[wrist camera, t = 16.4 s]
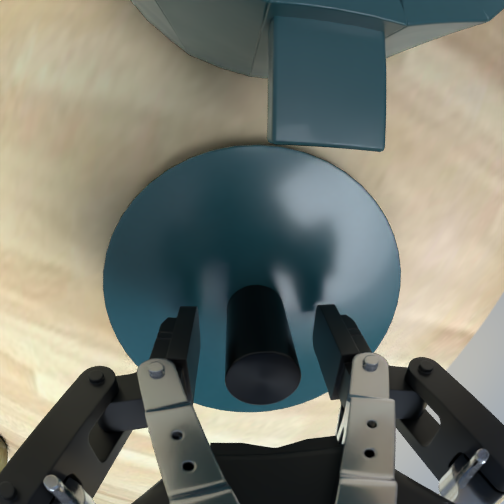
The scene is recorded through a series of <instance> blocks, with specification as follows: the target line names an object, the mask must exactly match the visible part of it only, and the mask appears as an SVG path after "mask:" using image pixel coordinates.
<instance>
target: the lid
mask: <svg viewBox="0 0 504 504" xmlns="http://www.w3.org/2000/svg"><path fill="white" fill-rule="evenodd" d="M400 277H401V268H400V260H399V252H398V248H397V244H396V241H395V237H394V234H393V232H392V229H391V227H390V225H389V223H388V220H387V218H386V216H385V215H384V213H383V212H382V210H381V209H380V207H379V206H378V204H377V202H376V201H375V200H374V199H373V197H372V196H371V195H370V194H369V193H368V192H367V191H366V190H365V189H364V187H363V186H362V185H361V184H359V183H358V182H357V181H356V180H354V179H353V178H352V177H351V176H350V175H348V174H347V173H346V172H344V171H343V170H341V169H339V168H338V167H336V166H334V165H333V164H331V163H329V162H327V161H325V160H323V159H321V158H318V157H316V156H313V155H311V154H308V153H306V152H302V151H298V150H294V149H290V148H285V147H281V146H271V145H259V144H254V145H237V146H230V147H225V148H220V149H215V150H211V151H208V152H205V153H202V154H199V155H197V156H194V157H191V158H189V159H187V160H185V161H183V162H181V163H179V164H178V165H176V166H174V167H172V168H170V169H168V170H167V171H165V172H164V173H163V174H161V175H160V176H159V177H157V178H156V179H155V180H153V181H152V182H151V183H149V184H148V185H147V186H146V187H145V188H144V189H143V190H142V191H141V192H140V193H139V194H138V195H137V196H136V197H135V199H134V200H133V201H132V202H131V204H130V205H129V206H128V208H127V209H126V211H125V212H124V213H123V215H122V216H121V218H120V220H119V222H118V224H117V226H116V228H115V230H114V232H113V234H112V237H111V240H110V243H109V246H108V249H107V252H106V258H105V264H104V270H103V291H104V298H105V305H106V310H107V313H108V316H109V320H110V323H111V325H112V328H113V330H114V332H115V334H116V337H117V339H118V340H119V342H120V344H121V345H122V347H123V348H124V350H125V352H126V353H127V354H128V356H129V357H130V358H131V359H132V360H133V362H134V363H135V364H136V365H137V366H138V367H139V366H140V364H142V363H143V362H144V361H146V360H149V358H150V355H151V352H152V349H153V346H154V343H155V340H156V337H157V334H158V331H159V328H160V326H161V324H162V323H163V322H164V321H165V320H166V319H167V318H168V317H173V318H177V315H178V312H179V308H180V306H197V307H198V315H199V327H200V355H199V363H198V370H197V378H196V386H195V394H194V402H193V403H196V404H199V405H202V406H205V407H210V408H214V409H219V410H225V411H234V412H263V411H272V410H278V409H283V408H288V407H291V406H295V405H298V404H301V403H304V402H307V401H309V400H312V399H314V398H317V397H319V396H321V395H322V394H324V393H326V392H328V390H327V387H326V384H325V381H324V378H323V375H322V372H321V369H320V366H319V363H318V360H317V357H316V354H315V351H314V348H313V329H314V321H315V313H316V307H317V305H327V304H334V305H335V306H336V308H337V309H338V311H339V313H340V315H347V316H349V317H350V318H351V319H353V320H354V321H355V323H356V325H357V326H358V329H359V330H360V332H361V333H362V334H361V335H363V337H364V339H365V340H366V342H367V344H368V346H369V348H370V349H371V351H372V353H374V351H375V350H376V349H377V347H378V346H379V344H380V343H381V341H382V339H383V338H384V336H385V334H386V332H387V330H388V328H389V326H390V324H391V321H392V319H393V316H394V313H395V310H396V306H397V303H398V297H399V291H400Z"/></svg>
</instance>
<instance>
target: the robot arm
mask: <svg viewBox="0 0 504 504" xmlns="http://www.w3.org/2000/svg"><path fill="white" fill-rule="evenodd" d="M361 334H362V333H361V332H360V330H359V329H358V326H357V325H356V323H355V321H354V320H353V319H351V318H350V317H349V316H347V315H340V313H339V311H338V309H337V308H336V306H335V305H334V304H327V305H317V307H316V313H315V321H314V329H313V348H314V351H315V354H316V357H317V360H318V363H319V366H320V369H321V372H322V375H323V378H324V381H325V384H326V387H327V390H328V393H329V396H330V399H331V400H336V399H340V401H341V406H340V409H339V415H338V421H337V427H336V432H335V436H330V437H322V438H313V439H306V440H303V441H299V442H296V443H293V444H289V445H286V446H282V447H278V448H270V447H263V446H257V445H251V444H245V443H211V444H210V445H209V443H208V441H207V438H206V436H205V434H204V432H203V429H202V427H201V424H200V422H199V420H198V417H197V415H196V412H195V410H194V408H193V402H194V394H195V386H196V378H197V370H198V363H199V355H200V327H199V315H198V307H197V306H180V308H179V312H178V315H177V318H173V317H168V318H167V319H166V320H165V321H164V322H163V323H162V324H161V326H160V328H159V331H158V334H157V337H156V340H155V343H154V346H153V349H152V352H151V355H150V358H149V360H146V361H144V362H143V363H142V364H140V366H139V367H138V369H137V372H136V373H133V374H128V375H121V376H115V373H114V372H113V370H111V369H110V368H108V367H104V366H95V367H91V368H89V369H87V370H85V371H84V372H83V373H82V374H81V375H80V376H79V377H78V378H77V380H76V381H75V382H74V383H73V384H72V385H71V387H70V388H69V389H68V390H67V391H66V392H65V394H64V395H63V396H62V397H61V398H60V399H59V401H58V402H57V403H56V404H55V405H54V407H53V408H52V409H51V410H50V411H49V412H48V414H47V415H46V416H45V417H44V418H43V420H42V421H41V422H40V423H39V425H38V426H37V427H36V428H35V429H34V431H33V432H32V433H31V434H30V436H29V437H28V438H27V439H26V441H25V442H24V443H23V444H22V445H21V447H20V448H19V449H18V450H17V452H16V453H15V454H14V456H13V457H12V458H11V459H10V461H9V462H8V463H7V464H6V466H5V467H4V468H3V470H2V471H1V472H0V504H96V503H95V502H94V500H93V497H94V495H95V493H96V492H97V490H98V488H99V487H100V485H101V483H102V481H103V480H104V478H105V476H106V475H107V473H108V471H109V469H110V468H111V466H112V464H113V463H114V461H115V459H116V457H117V456H118V454H119V452H120V451H121V449H122V447H123V445H124V444H125V442H126V440H127V439H128V437H129V435H130V434H131V432H132V430H134V429H141V428H147V427H148V429H149V433H150V437H151V441H152V445H153V448H154V452H155V456H156V459H157V463H158V466H159V469H160V473H161V476H162V479H161V480H160V481H158V482H157V483H156V484H155V485H154V486H153V487H151V488H150V489H149V490H148V491H147V492H145V493H144V494H143V495H142V496H140V497H139V498H138V499H137V500H135V501H134V502H133V503H132V504H500V503H501V502H502V501H503V500H504V425H503V424H502V423H501V422H500V421H499V420H498V419H497V418H496V417H495V416H494V415H493V414H492V413H491V412H490V411H489V410H488V409H486V408H485V407H484V406H483V405H482V404H481V403H480V402H479V401H478V400H477V399H476V398H475V397H474V396H473V395H472V394H471V393H470V392H468V391H467V390H466V389H465V388H464V387H463V386H462V385H461V384H460V383H459V382H458V381H457V380H455V379H454V378H453V377H452V376H451V375H450V374H449V373H448V372H447V371H446V370H445V369H443V368H442V367H441V366H440V365H439V364H438V363H437V362H435V361H434V360H432V359H429V358H425V357H418V358H415V359H413V360H411V361H410V363H409V366H408V368H406V367H395V366H389V365H388V362H387V360H386V359H385V358H384V357H382V356H381V355H379V354H376V353H372V351H371V349H370V348H369V346H368V344H367V342H366V340H365V339H364V337H363V335H361ZM427 404H428V405H429V406H430V407H431V409H433V411H434V412H435V413H436V414H437V415H438V416H439V418H440V422H441V424H440V425H439V424H438V422H437V421H436V420H435V419H434V418H433V417H432V416H431V415H430V414H429V413H428V412H427V410H426V409H425V408H426V406H427ZM396 428H397V429H398V431H399V432H400V433H401V434H402V436H403V437H404V438H405V439H406V441H407V442H408V443H409V444H410V446H411V447H412V448H413V449H414V451H415V452H416V453H417V454H418V456H419V457H420V458H421V459H422V460H423V462H424V463H425V464H426V465H427V467H428V468H429V469H430V470H431V472H432V473H433V474H434V475H435V477H436V478H437V479H438V481H439V491H440V494H437V493H435V492H433V491H432V490H430V489H428V488H426V487H424V486H422V485H421V484H419V483H417V482H416V481H414V480H412V479H410V478H409V477H407V476H406V475H404V474H402V473H400V472H399V471H397V470H396V469H395V441H396V440H395V439H396V436H395V435H396V433H395V431H396Z"/></svg>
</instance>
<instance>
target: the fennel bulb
mask: <svg viewBox="0 0 504 504" xmlns="http://www.w3.org/2000/svg"><path fill="white" fill-rule="evenodd" d="M7 459H8V451H7V448H6V445H5V443H4V442H3V440H2V439H1V438H0V472H1V471H2V470H3V468H4V467H5V466H6V464H7Z"/></svg>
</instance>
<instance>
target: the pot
mask: <svg viewBox="0 0 504 504" xmlns="http://www.w3.org/2000/svg"><path fill="white" fill-rule="evenodd" d="M131 2H132V3H133V4H134V5H135V6H136V7H137V9H138V10H139V11H140V12H141V13H142V15H143V16H144V17H145V18H146V19H147V21H148V22H150V23H151V24H152V25H153V26H155V27H156V28H157V29H158V30H160V31H161V32H162V33H163V34H164V35H165V36H166V37H167V38H168V39H169V40H171V41H172V42H173V43H175V44H176V45H177V46H179V47H180V48H181V49H183V50H184V51H185V52H186V53H187V54H189V55H190V56H193V57H197V58H199V59H201V60H203V61H205V62H208V63H210V64H213V65H215V66H217V67H220V68H223V69H226V70H230V71H233V72H236V73H239V74H244V75H247V76H250V77H259V78H268V120H267V140H268V142H269V143H272V144H276V145H300V146H318V147H333V148H345V149H357V150H367V151H377V152H381V151H383V150H384V148H385V128H386V58H388V57H390V56H393V55H395V54H398V53H400V52H403V51H405V50H408V49H410V48H413V47H415V46H418V45H420V44H423V43H426V42H429V41H431V40H434V39H437V38H440V37H442V36H445V35H448V34H451V33H454V32H457V31H460V30H463V29H467V28H470V27H473V26H476V25H480V24H483V23H486V22H489V21H490V20H491V19H493V18H494V17H495V16H496V15H497V14H498V13H499V12H501V11H502V10H503V9H504V0H131Z"/></svg>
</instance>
